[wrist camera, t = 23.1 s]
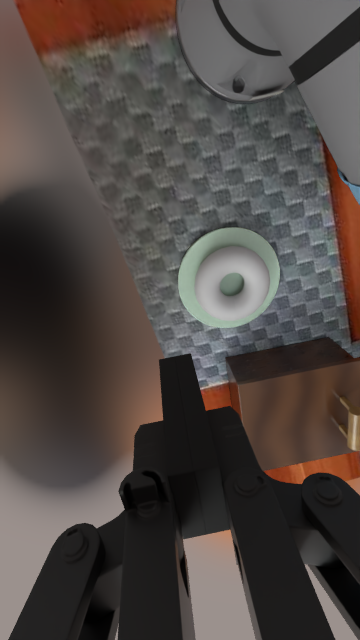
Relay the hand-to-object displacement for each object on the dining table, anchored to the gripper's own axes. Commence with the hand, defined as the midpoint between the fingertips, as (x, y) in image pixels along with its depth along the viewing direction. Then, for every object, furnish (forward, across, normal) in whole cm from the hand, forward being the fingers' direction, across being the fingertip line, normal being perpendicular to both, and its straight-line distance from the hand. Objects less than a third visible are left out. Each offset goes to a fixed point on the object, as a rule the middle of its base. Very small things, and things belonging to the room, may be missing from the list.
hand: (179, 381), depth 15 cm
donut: (+29, +9, -5) cm, 30 cm away
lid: (+23, +15, -25) cm, 37 cm away
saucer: (+29, +9, -5) cm, 31 cm away
